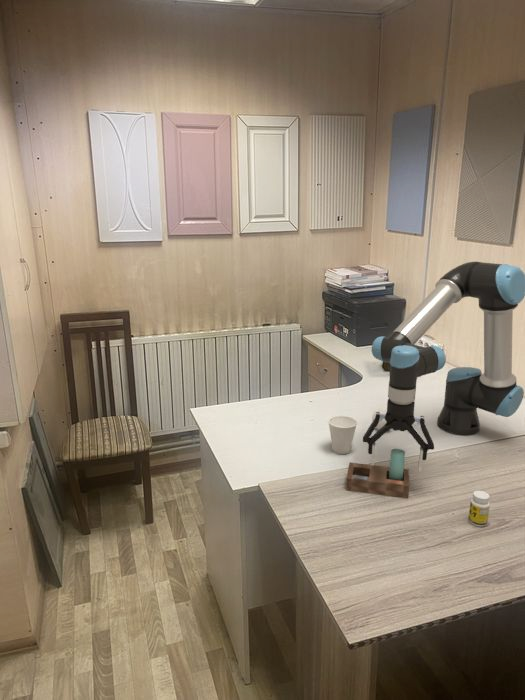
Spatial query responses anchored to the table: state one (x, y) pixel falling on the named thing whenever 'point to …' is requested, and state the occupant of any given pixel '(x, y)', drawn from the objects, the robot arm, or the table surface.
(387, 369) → the wooden crate
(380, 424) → the beige round lump
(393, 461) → the plug
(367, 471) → the socket block
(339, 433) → the cup
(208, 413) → the table surface
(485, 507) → the supplement bottle
